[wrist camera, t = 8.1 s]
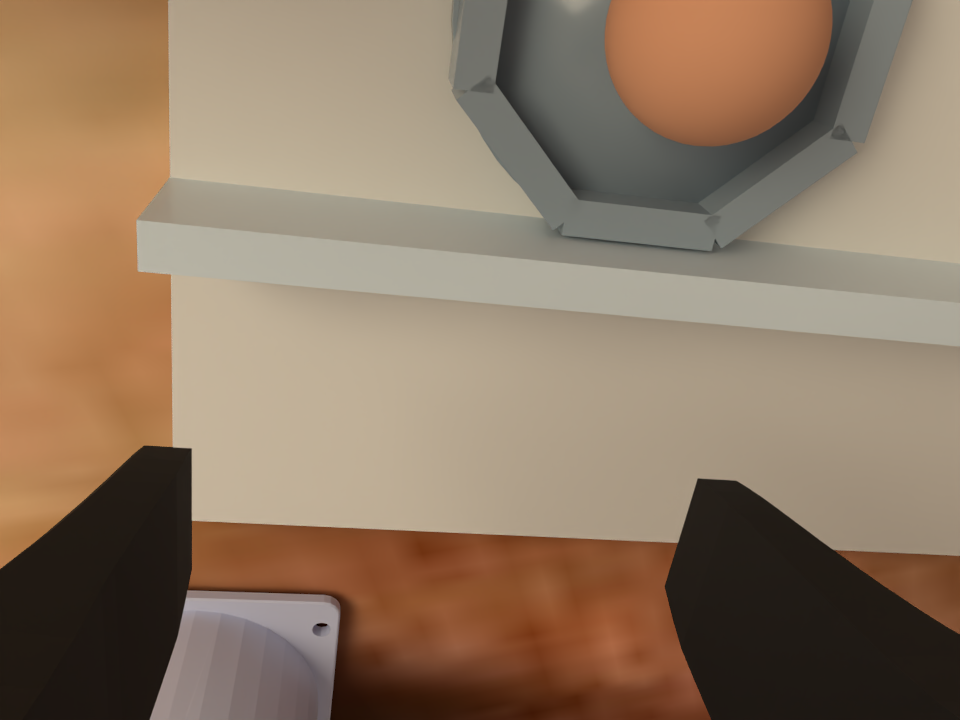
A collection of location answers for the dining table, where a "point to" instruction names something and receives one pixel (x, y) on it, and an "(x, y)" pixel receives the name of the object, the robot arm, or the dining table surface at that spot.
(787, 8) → the rust ball
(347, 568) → the dining table surface
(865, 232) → the board
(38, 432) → the dining table surface
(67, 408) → the dining table surface
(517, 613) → the dining table surface
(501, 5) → the dish
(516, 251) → the fence
